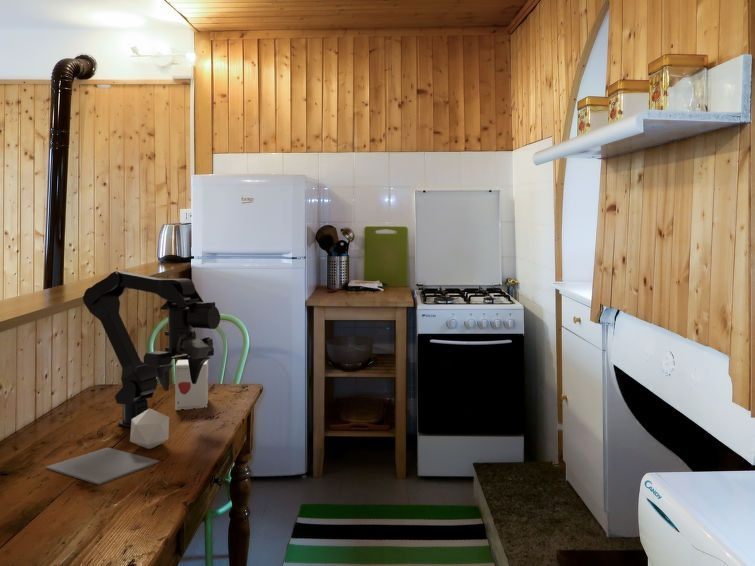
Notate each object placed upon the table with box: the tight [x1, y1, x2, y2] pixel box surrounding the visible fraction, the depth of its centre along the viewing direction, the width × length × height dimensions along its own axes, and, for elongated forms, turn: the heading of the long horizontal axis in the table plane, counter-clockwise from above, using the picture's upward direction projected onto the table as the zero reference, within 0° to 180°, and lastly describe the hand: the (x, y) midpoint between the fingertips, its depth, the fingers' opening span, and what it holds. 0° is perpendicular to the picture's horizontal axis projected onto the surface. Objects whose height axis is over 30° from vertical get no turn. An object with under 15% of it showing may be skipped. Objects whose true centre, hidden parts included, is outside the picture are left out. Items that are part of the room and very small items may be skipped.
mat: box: [45, 447, 160, 486], centre depth 131 cm, size 18×15×1 cm
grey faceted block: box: [129, 407, 170, 450], centre depth 142 cm, size 8×9×10 cm
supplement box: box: [174, 359, 209, 411], centre depth 175 cm, size 9×9×15 cm
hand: (180, 387), depth 155 cm, fingers open, 9 cm apart
